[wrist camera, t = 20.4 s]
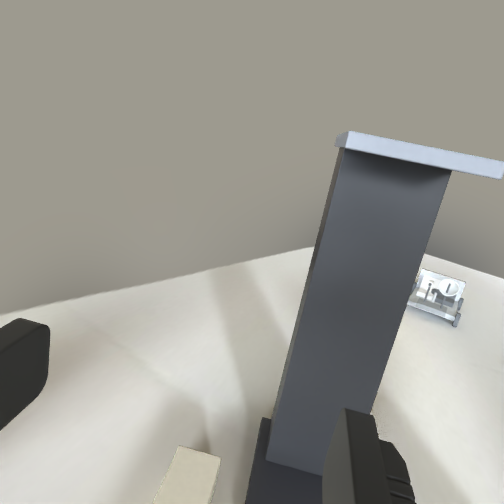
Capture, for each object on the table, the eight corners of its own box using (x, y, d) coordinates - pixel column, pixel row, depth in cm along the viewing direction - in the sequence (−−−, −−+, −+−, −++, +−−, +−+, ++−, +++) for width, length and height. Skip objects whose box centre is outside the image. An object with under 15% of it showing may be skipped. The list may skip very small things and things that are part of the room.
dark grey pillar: (239, 533, 32) (340, 128, 23) (260, 425, 45) (331, 133, 36) (361, 570, 31) (517, 164, 22) (348, 449, 44) (445, 156, 35)
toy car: (472, 289, 79) (412, 270, 84) (455, 333, 82) (398, 312, 87) (473, 271, 94) (423, 255, 99) (459, 308, 97) (411, 291, 102)
